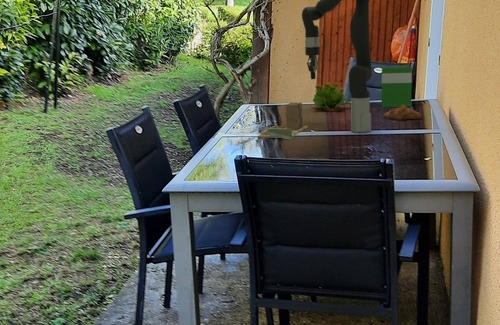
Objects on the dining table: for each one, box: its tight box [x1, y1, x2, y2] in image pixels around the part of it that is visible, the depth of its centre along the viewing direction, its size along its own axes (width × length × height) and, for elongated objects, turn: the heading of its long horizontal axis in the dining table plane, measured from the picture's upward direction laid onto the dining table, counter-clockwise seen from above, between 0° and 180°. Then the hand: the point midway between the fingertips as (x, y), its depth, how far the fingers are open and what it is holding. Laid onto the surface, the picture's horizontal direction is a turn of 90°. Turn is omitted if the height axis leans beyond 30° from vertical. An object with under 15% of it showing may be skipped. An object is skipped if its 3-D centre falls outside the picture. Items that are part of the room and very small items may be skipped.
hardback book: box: [381, 66, 413, 108], centre depth 373 cm, size 18×7×24 cm, turn 76°
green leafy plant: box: [312, 81, 351, 112], centre depth 373 cm, size 25×24×18 cm
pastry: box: [382, 105, 423, 121], centre depth 334 cm, size 17×15×8 cm
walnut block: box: [285, 102, 304, 130], centre depth 315 cm, size 8×6×13 cm
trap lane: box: [256, 125, 309, 140], centre depth 310 cm, size 27×18×5 cm, turn 157°
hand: (313, 78), depth 322 cm, fingers closed
